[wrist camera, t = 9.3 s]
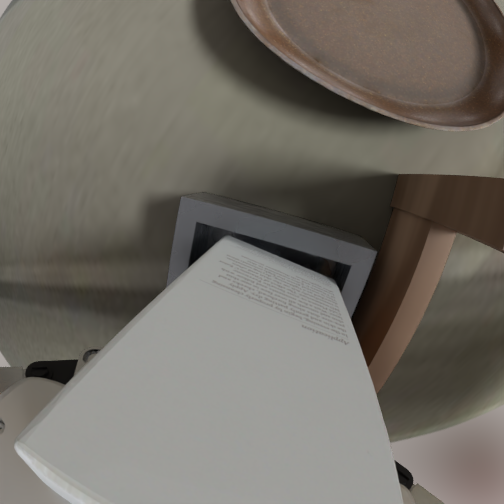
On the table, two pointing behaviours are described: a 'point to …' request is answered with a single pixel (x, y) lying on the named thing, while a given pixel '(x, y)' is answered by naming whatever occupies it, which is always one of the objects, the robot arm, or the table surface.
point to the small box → (222, 398)
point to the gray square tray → (271, 240)
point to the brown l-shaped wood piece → (421, 257)
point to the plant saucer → (394, 54)
